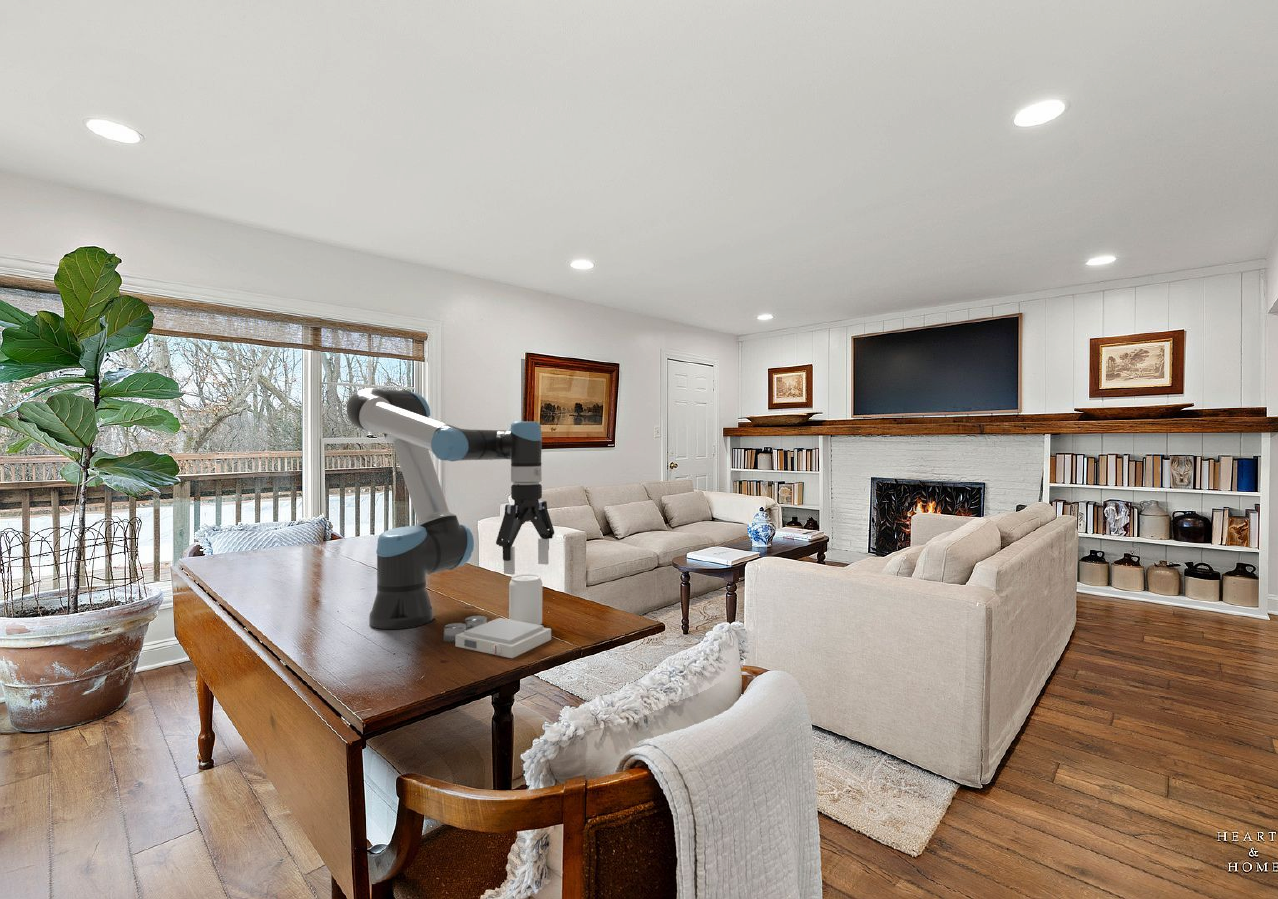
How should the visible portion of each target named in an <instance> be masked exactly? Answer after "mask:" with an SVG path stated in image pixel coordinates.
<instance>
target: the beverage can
mask: <svg viewBox="0 0 1278 899" xmlns="http://www.w3.org/2000/svg"><path fill="white" fill-rule="evenodd" d="M510 579H511V580H510V581H509V584H508V585H509V586H508V588H509V589H508V596H509V597H508V598H509V599H508V600H509V601H508V605H509V606H508V607H509V609H508V619H509V620H514V621H520V622H526V623H531V624H537V625H542V624H543V581H542V579H541V575H537V574H519V575H512V577H511V578H510Z"/></svg>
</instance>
